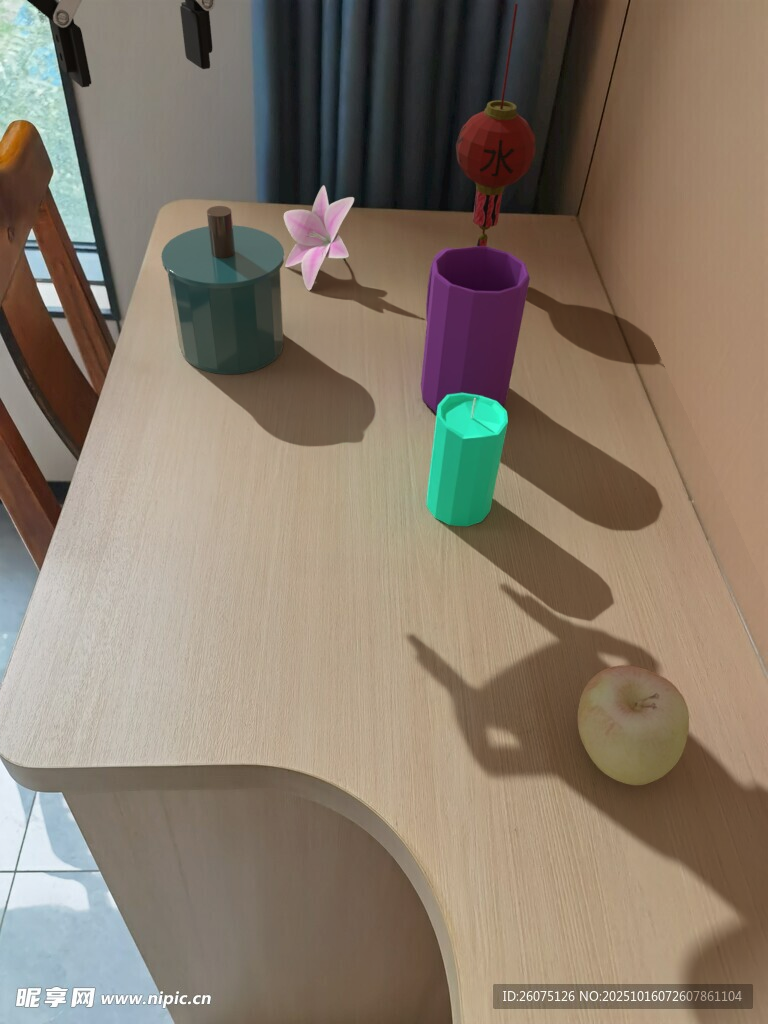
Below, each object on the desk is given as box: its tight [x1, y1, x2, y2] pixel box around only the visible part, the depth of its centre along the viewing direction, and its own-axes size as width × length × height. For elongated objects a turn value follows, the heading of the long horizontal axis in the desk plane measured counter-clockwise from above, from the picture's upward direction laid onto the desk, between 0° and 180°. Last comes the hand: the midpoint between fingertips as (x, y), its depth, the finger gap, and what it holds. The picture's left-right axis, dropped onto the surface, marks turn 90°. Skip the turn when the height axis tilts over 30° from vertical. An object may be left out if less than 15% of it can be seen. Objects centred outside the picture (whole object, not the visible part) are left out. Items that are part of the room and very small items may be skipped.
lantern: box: [455, 2, 537, 247], centre depth 95 cm, size 10×10×30 cm
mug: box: [420, 245, 531, 414], centre depth 82 cm, size 9×16×15 cm, turn 18°
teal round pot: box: [167, 268, 284, 375], centre depth 86 cm, size 11×11×10 cm
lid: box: [160, 205, 285, 289], centre depth 81 cm, size 12×12×6 cm
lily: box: [283, 185, 355, 291], centre depth 100 cm, size 12×12×10 cm
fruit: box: [577, 665, 690, 786], centre depth 54 cm, size 8×7×8 cm
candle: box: [426, 393, 509, 527], centre depth 69 cm, size 6×6×12 cm
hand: (141, 72), depth 63 cm, fingers open, 9 cm apart
